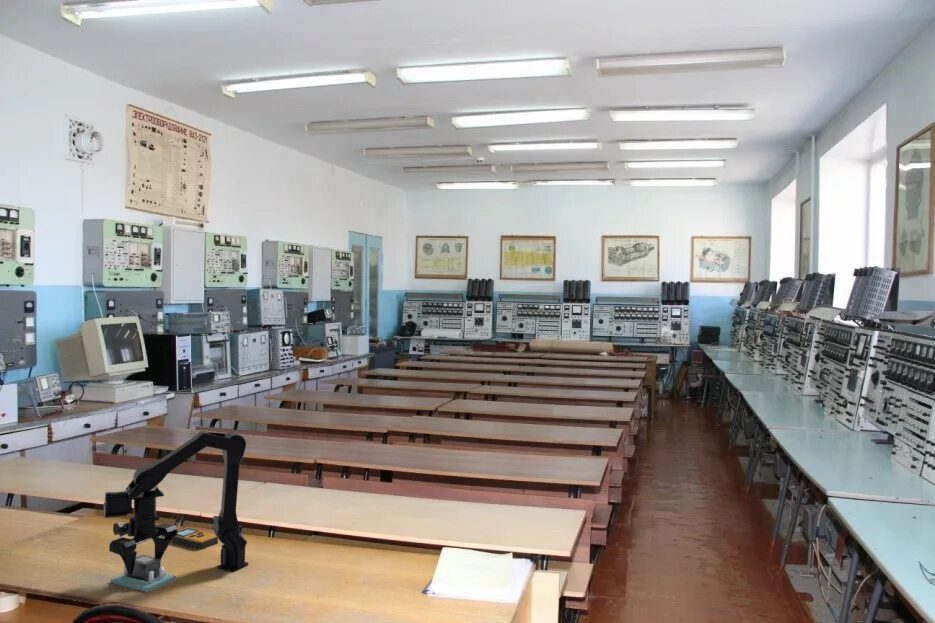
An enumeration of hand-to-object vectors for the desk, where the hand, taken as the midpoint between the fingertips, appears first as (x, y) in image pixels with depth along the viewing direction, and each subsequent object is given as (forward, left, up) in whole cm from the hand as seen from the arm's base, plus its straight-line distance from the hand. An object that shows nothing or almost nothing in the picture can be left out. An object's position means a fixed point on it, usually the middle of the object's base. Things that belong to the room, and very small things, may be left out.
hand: (144, 568), depth 203 cm
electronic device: (+12, -30, -4) cm, 33 cm away
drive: (0, 0, -2) cm, 2 cm away
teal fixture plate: (0, 0, -4) cm, 4 cm away
